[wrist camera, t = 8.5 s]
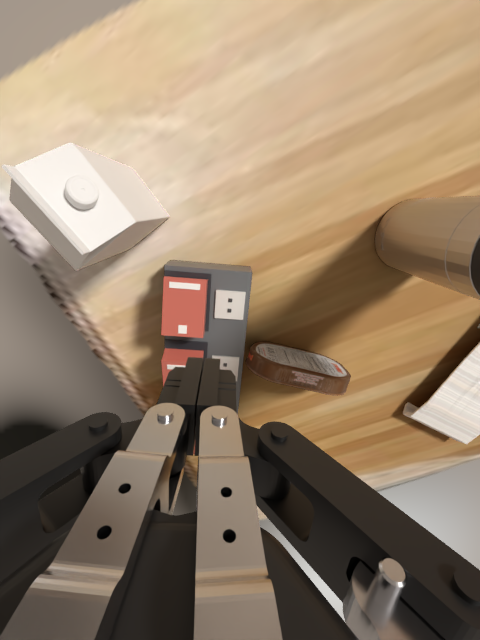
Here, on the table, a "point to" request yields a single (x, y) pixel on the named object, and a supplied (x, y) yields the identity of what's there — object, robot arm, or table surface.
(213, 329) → the power strip
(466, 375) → the white flat bar
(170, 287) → the block
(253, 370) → the tin
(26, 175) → the milk carton
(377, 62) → the table surface
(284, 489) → the robot arm
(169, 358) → the block
